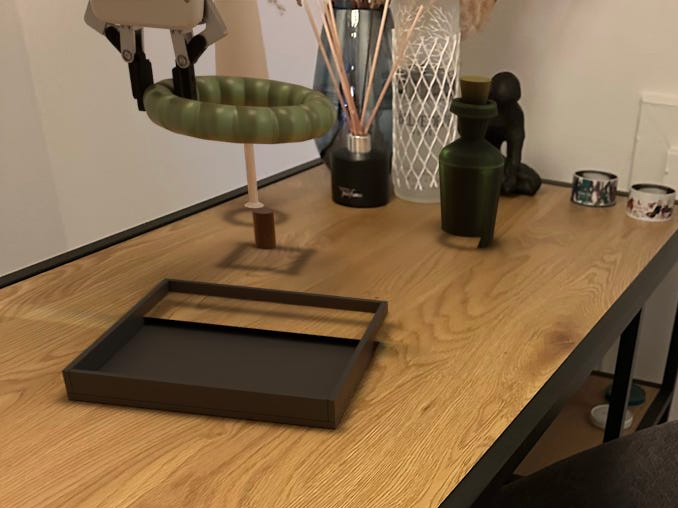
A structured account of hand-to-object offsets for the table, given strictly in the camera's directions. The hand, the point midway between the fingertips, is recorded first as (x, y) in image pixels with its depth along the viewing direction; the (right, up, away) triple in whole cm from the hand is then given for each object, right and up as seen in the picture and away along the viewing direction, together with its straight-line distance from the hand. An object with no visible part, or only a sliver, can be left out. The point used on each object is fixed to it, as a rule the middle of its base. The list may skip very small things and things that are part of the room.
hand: (166, 108), depth 91 cm
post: (+6, -7, +18) cm, 21 cm away
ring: (+7, 0, -1) cm, 8 cm away
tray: (+8, -26, -3) cm, 27 cm away
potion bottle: (+29, -1, +28) cm, 40 cm away
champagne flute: (+1, +3, +30) cm, 31 cm away
